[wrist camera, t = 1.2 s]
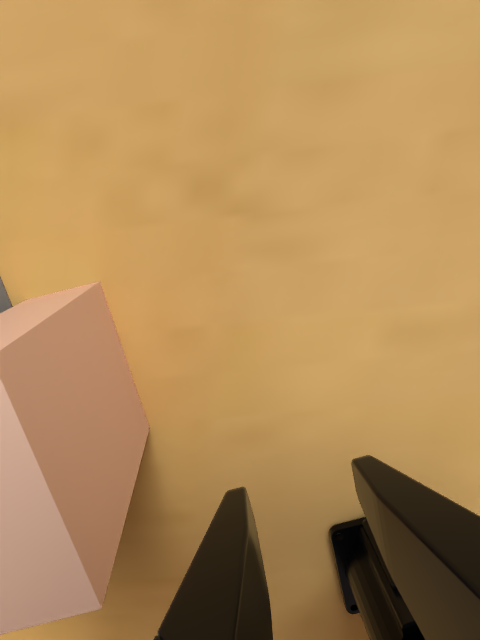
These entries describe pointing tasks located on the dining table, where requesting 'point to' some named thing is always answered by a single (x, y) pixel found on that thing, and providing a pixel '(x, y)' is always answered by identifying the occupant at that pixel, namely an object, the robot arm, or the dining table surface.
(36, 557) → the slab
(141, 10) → the dining table surface
